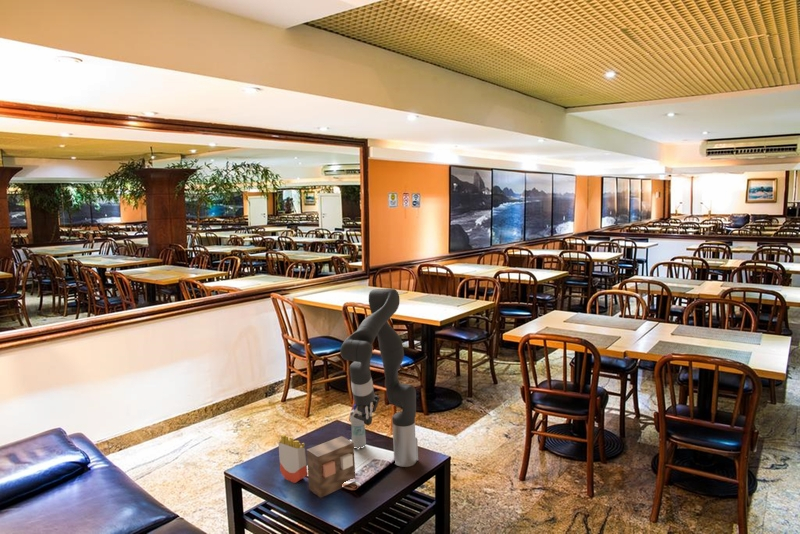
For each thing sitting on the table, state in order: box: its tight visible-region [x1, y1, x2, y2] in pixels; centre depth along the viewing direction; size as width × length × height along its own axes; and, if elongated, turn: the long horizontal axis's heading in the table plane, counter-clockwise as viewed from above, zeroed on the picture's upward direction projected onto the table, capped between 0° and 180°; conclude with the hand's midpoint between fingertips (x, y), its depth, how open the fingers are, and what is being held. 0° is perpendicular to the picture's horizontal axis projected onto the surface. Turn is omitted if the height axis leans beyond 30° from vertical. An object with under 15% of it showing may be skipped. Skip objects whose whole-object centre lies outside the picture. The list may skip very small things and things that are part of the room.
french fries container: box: [277, 434, 308, 484], centre depth 208 cm, size 5×11×18 cm, turn 54°
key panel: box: [306, 435, 356, 499], centre depth 202 cm, size 16×8×16 cm, turn 131°
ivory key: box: [340, 453, 353, 470], centre depth 201 cm, size 4×4×4 cm
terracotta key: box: [322, 460, 336, 478], centre depth 196 cm, size 4×4×4 cm
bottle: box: [349, 403, 367, 449], centre depth 232 cm, size 7×7×20 cm
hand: (368, 423), depth 192 cm, fingers closed
